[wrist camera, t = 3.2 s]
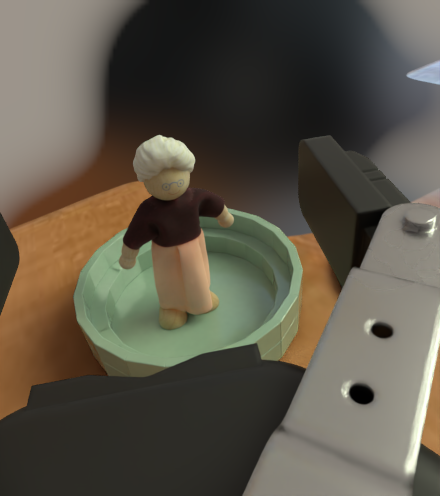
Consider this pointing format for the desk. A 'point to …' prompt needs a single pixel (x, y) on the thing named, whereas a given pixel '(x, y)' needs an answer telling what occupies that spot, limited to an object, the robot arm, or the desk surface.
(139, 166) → the grandmother figurine
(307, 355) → the desk surface
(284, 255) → the bowl
